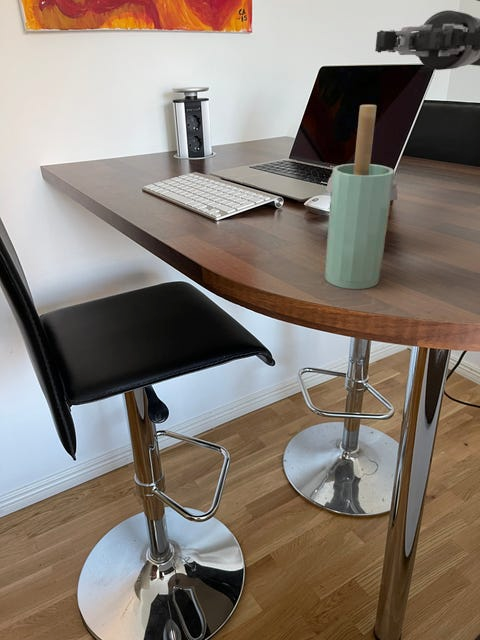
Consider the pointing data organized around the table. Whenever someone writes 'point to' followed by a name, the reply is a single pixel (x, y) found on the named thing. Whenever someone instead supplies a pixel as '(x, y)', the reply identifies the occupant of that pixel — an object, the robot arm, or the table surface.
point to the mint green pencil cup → (357, 226)
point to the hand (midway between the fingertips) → (414, 39)
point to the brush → (364, 139)
